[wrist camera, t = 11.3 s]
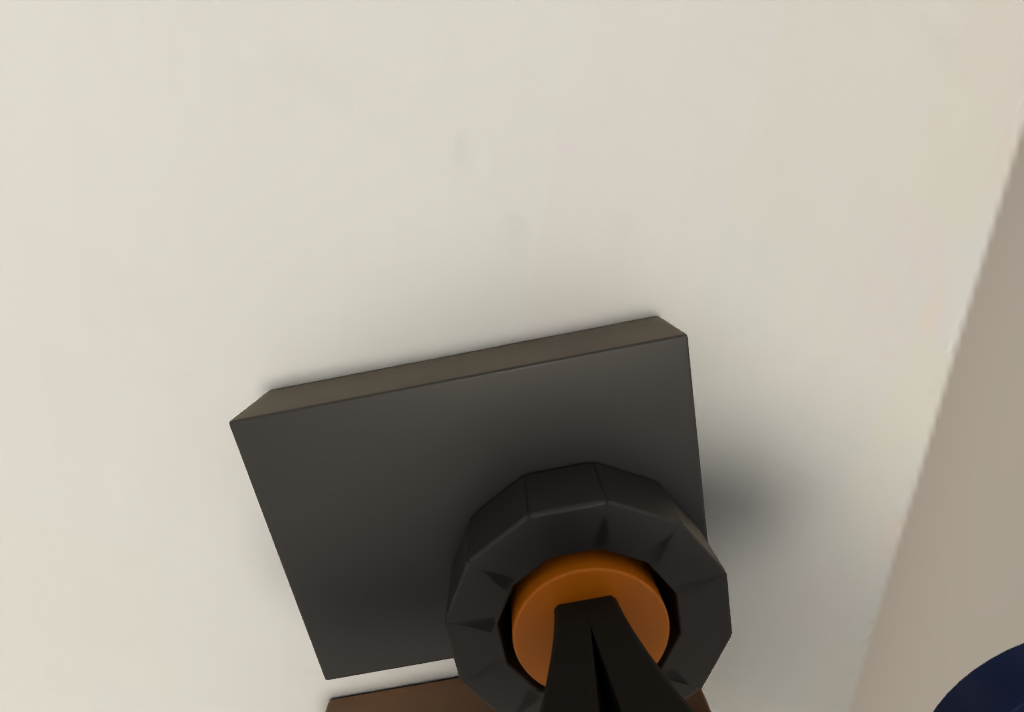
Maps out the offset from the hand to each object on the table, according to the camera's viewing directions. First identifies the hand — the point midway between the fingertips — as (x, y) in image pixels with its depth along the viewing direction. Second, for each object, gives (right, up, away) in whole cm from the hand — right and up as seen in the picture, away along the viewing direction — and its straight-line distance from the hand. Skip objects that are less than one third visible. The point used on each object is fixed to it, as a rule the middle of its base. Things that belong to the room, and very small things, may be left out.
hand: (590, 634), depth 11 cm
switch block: (-2, +3, +3) cm, 5 cm away
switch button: (0, 0, +2) cm, 2 cm away
